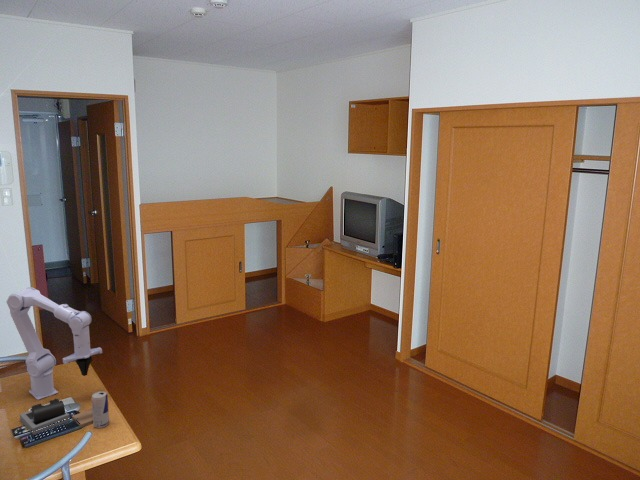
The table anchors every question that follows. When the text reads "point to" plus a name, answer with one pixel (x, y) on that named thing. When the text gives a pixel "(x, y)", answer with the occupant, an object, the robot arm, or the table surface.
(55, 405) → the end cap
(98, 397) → the energy drink
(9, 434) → the table surface
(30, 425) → the corral stand
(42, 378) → the robot arm
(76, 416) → the walnut stand
